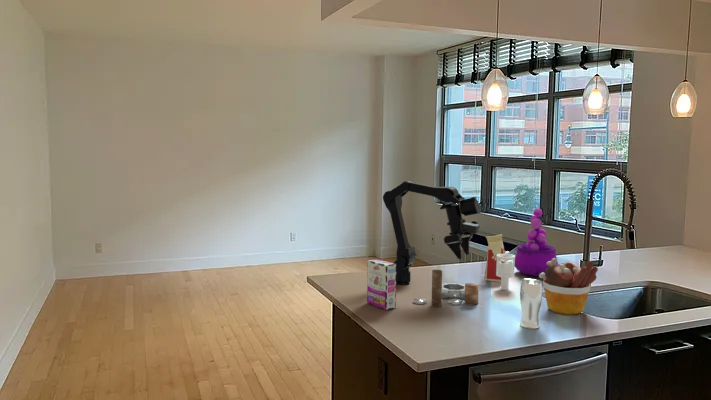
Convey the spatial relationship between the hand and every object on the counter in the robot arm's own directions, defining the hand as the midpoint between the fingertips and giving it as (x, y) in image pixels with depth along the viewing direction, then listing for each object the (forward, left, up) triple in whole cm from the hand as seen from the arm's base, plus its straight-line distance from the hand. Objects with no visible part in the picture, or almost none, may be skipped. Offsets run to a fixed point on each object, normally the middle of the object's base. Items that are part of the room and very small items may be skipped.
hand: (463, 256), depth 222 cm
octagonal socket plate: (-4, -5, -14) cm, 15 cm away
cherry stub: (+2, -15, -14) cm, 21 cm away
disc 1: (-17, -17, -15) cm, 28 cm away
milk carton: (+15, +22, -14) cm, 30 cm away
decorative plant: (+34, +32, -14) cm, 49 cm away
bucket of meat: (+35, -20, -14) cm, 43 cm away
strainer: (+17, +6, -14) cm, 23 cm away
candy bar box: (-31, -23, -14) cm, 41 cm away
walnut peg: (-11, -20, -14) cm, 27 cm away
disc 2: (-4, -16, -14) cm, 22 cm away
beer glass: (+19, -38, -14) cm, 45 cm away
